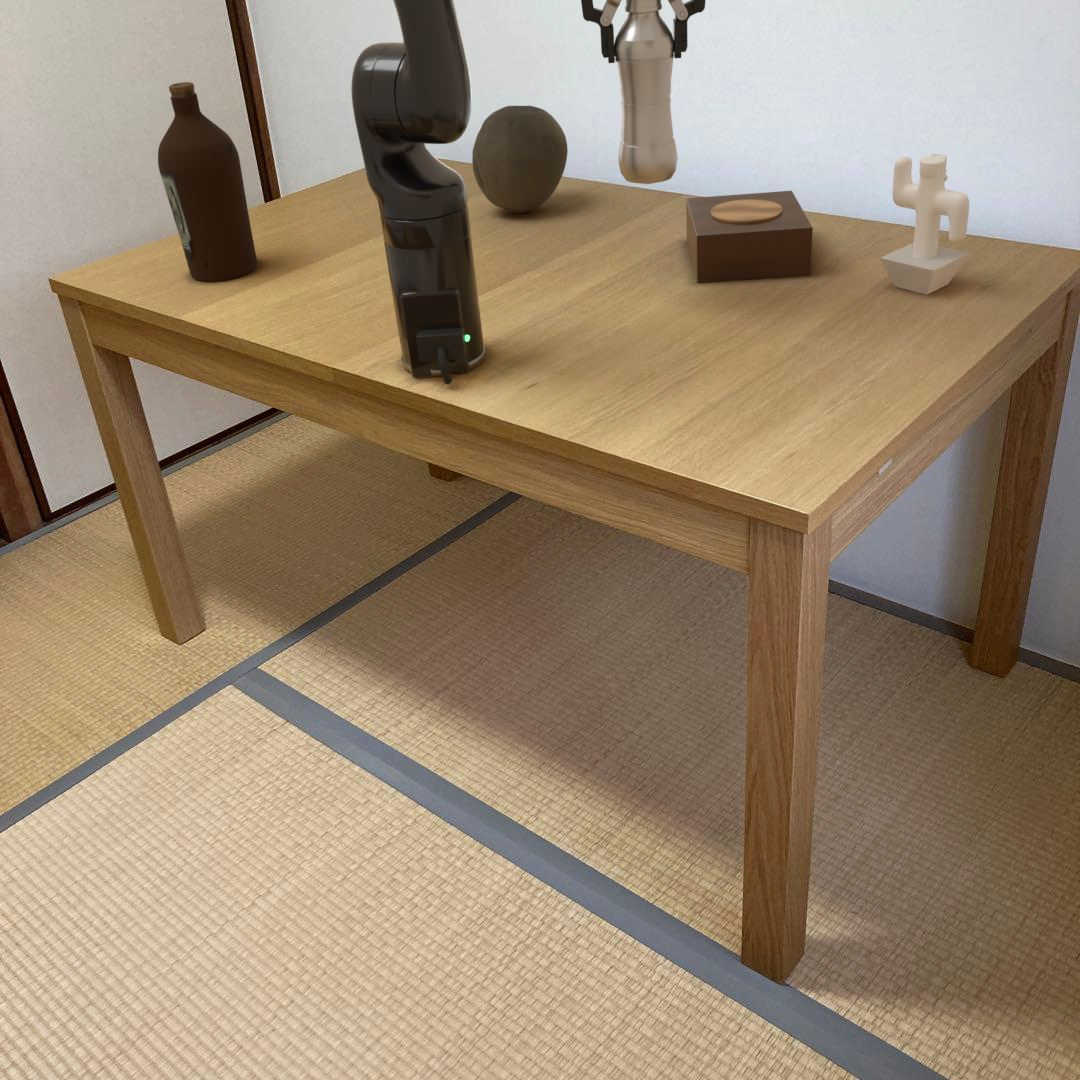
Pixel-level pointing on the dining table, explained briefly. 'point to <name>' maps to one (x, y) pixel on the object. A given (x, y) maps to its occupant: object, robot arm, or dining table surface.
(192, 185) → the olive oil
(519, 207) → the cantaloupe
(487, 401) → the dining table surface
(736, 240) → the walnut box
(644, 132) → the metal bottle
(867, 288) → the dining table surface
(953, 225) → the figurine
